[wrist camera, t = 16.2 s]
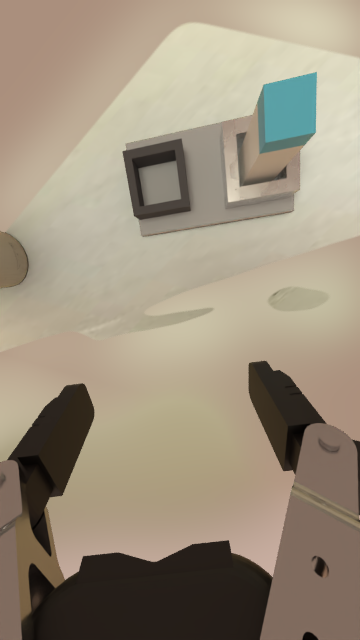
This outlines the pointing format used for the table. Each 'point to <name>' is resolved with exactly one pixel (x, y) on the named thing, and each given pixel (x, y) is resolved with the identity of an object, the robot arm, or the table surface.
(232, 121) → the port
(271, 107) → the plug
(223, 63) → the table surface
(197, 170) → the panel
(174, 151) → the dark grey square socket
